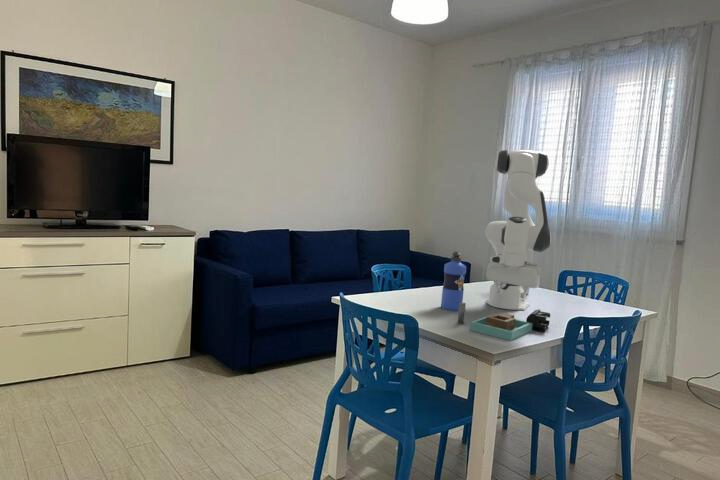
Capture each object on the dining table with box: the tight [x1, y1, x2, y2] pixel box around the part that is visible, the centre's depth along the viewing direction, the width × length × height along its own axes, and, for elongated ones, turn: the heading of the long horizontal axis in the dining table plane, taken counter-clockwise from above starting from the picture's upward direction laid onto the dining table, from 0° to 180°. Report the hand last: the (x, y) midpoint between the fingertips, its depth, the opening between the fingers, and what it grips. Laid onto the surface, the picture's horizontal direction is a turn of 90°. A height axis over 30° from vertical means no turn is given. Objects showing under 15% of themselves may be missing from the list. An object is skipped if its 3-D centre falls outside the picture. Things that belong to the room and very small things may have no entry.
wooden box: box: [485, 313, 516, 331], centre depth 198 cm, size 13×8×4 cm, turn 141°
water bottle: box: [440, 251, 467, 312], centre depth 227 cm, size 9×9×25 cm
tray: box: [469, 313, 533, 341], centre depth 197 cm, size 20×16×3 cm
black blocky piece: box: [525, 308, 551, 333], centre depth 204 cm, size 10×7×7 cm
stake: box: [457, 302, 466, 325], centre depth 203 cm, size 2×2×8 cm
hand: (510, 295), depth 200 cm, fingers open, 8 cm apart
